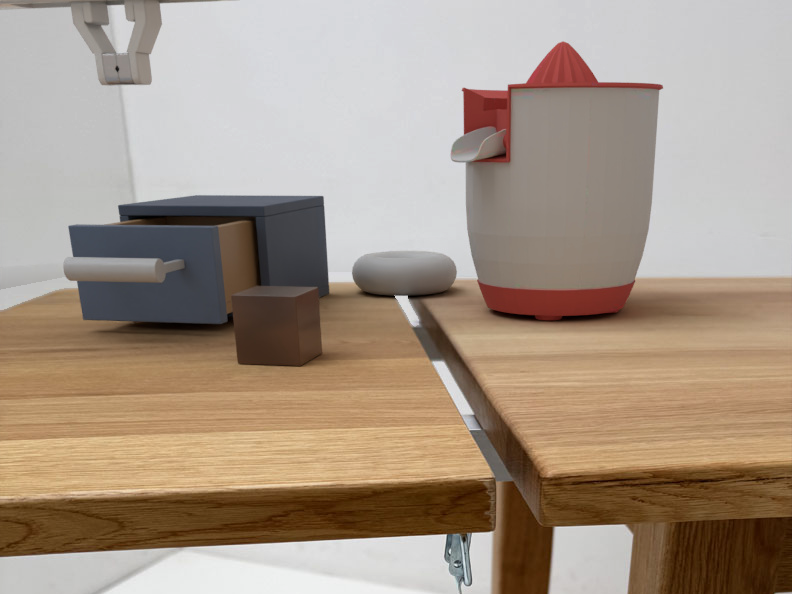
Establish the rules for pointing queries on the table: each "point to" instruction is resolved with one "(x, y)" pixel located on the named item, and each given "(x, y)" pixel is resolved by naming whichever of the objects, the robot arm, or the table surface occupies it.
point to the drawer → (163, 268)
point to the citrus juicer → (558, 188)
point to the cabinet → (262, 232)
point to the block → (277, 325)
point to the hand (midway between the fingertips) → (126, 85)
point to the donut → (404, 273)
